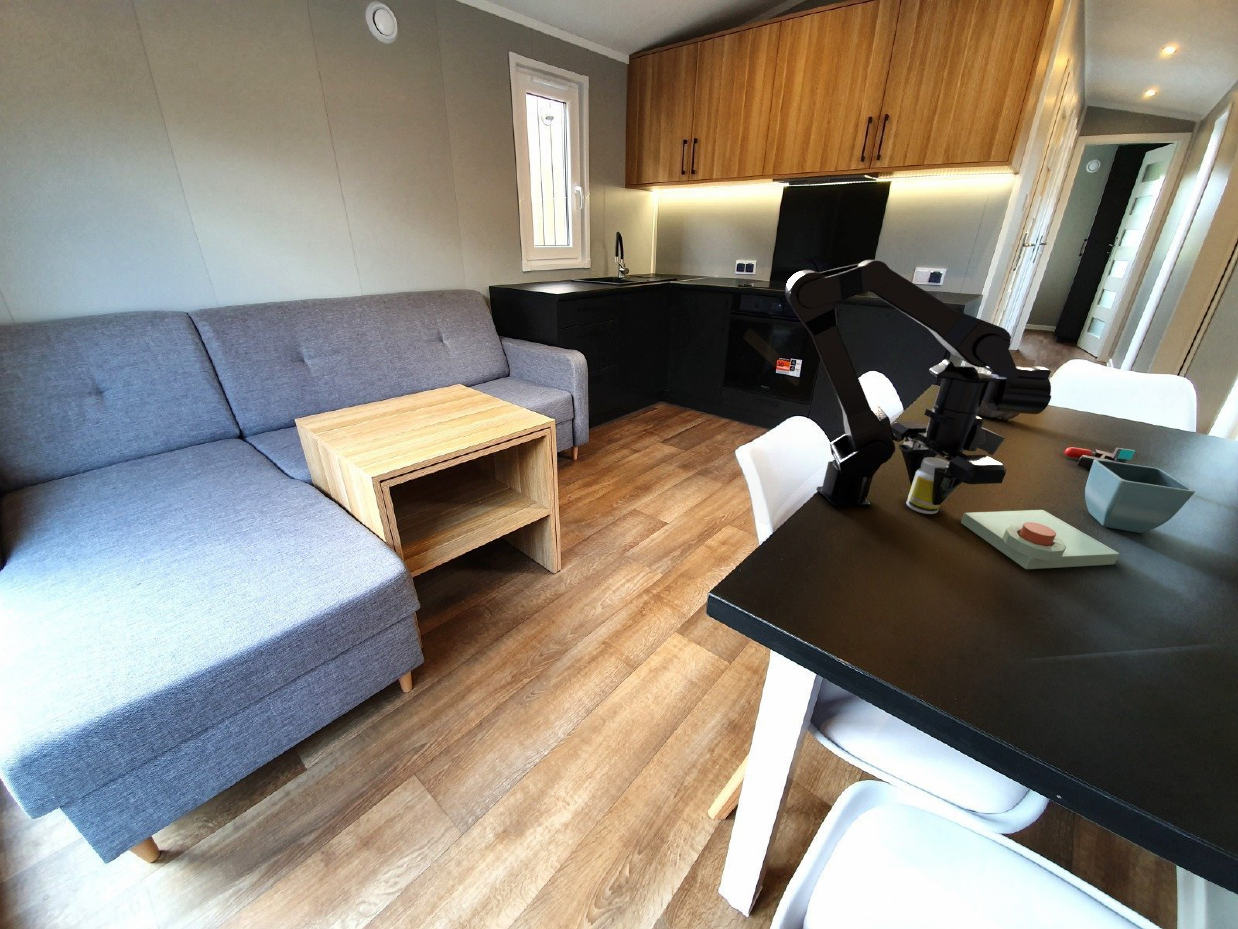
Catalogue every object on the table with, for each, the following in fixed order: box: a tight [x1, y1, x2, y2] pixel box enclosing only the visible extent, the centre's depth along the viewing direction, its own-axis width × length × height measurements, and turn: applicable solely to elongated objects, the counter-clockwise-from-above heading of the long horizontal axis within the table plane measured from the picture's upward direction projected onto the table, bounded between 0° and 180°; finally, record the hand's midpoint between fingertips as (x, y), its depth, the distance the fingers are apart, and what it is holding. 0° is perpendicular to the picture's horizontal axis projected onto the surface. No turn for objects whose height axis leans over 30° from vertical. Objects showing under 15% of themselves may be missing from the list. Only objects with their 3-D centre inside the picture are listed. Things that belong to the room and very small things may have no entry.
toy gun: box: [1064, 446, 1136, 470], centre depth 100 cm, size 10×12×5 cm
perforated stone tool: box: [977, 400, 1021, 421], centre depth 126 cm, size 15×5×7 cm, turn 45°
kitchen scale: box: [960, 509, 1121, 570], centre depth 72 cm, size 15×13×4 cm
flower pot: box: [1084, 459, 1196, 534], centre depth 77 cm, size 9×9×9 cm
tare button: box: [1019, 522, 1056, 546], centre depth 68 cm, size 4×4×2 cm
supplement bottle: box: [905, 457, 950, 515], centre depth 80 cm, size 5×5×8 cm
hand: (925, 497), depth 81 cm, fingers closed on supplement bottle, 5 cm apart
